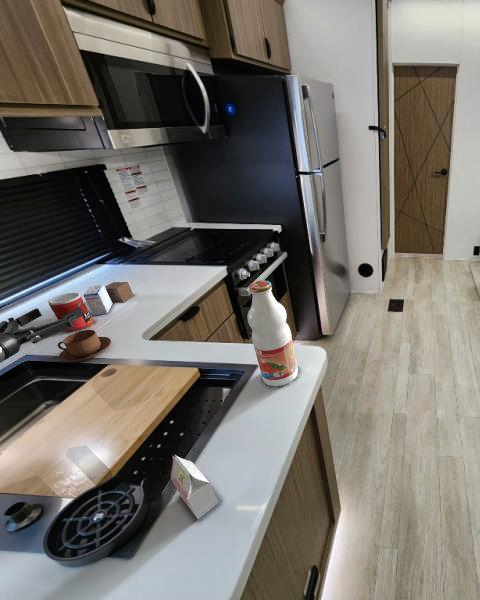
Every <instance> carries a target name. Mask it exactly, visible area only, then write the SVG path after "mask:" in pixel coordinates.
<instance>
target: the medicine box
mask: <svg viewBox="0 0 480 600" xmlns="http://www.w3.org/2000/svg"><path fill="white" fill-rule="evenodd" d="M83 299H84V301H85V302H86V304H87V305H88V307H89V310H90V312H91V314H92V315H93V316H100V315H105V314H108V313H109V312H110V310H111V307H112V305H113V302H112V301H111V299H110V297H109V295H108V293H107V290H106V288H105V285H104V284H98V285H91V286H89V287H88V288H87V289H86V291H85V292H84V294H83Z"/></svg>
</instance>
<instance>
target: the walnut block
mask: <svg viewBox="0 0 480 600" xmlns="http://www.w3.org/2000/svg"><path fill="white" fill-rule="evenodd" d="M104 286H105V285H104ZM105 288H106V290H107V293H108V295H109V297H110V299H111V301H112V303H124V302H126V301H127V300H129V299H130V298H132V297H134V292H133V291H132V289H131V286H130V283H129V282H128V281H112V282H111V283H109V284H107V285H106V286H105Z"/></svg>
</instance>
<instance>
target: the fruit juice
mask: <svg viewBox="0 0 480 600" xmlns="http://www.w3.org/2000/svg"><path fill="white" fill-rule="evenodd" d="M248 287H249V288H248V290H249V292H250V294H251V295H252V301H251V306H250V308H249V310H248V312H247V316H246V317H247V323H248V325H249V327H250V328H251V330H252V331H251V340H252V345H253V348H254V352H255V356H256V359H257V363H258V368H259V371H260V374H261V378H262V381H263V382H264V383H265V384H266V385H267V386H270V387H281V386H285V385H288V384H290V383H291V382H293V381H294V380H295V379H296V377H297V376H298V373H299V366H298V361H297V357H296V352H295V346H294V342H293V337H292V336H293V335H292V331H291V327H290V325H289V324H288V323H287V318H288V317H287V310H286V308H285V307H284V305H282V304H281V303H280V302H278V301H277V300H276V297H275V296H274V294H273V292H272V289H273V285H272V283H271V281H269V280H266V279H261V280H256V281H252V282H251V283H250V284H249V286H248Z"/></svg>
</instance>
